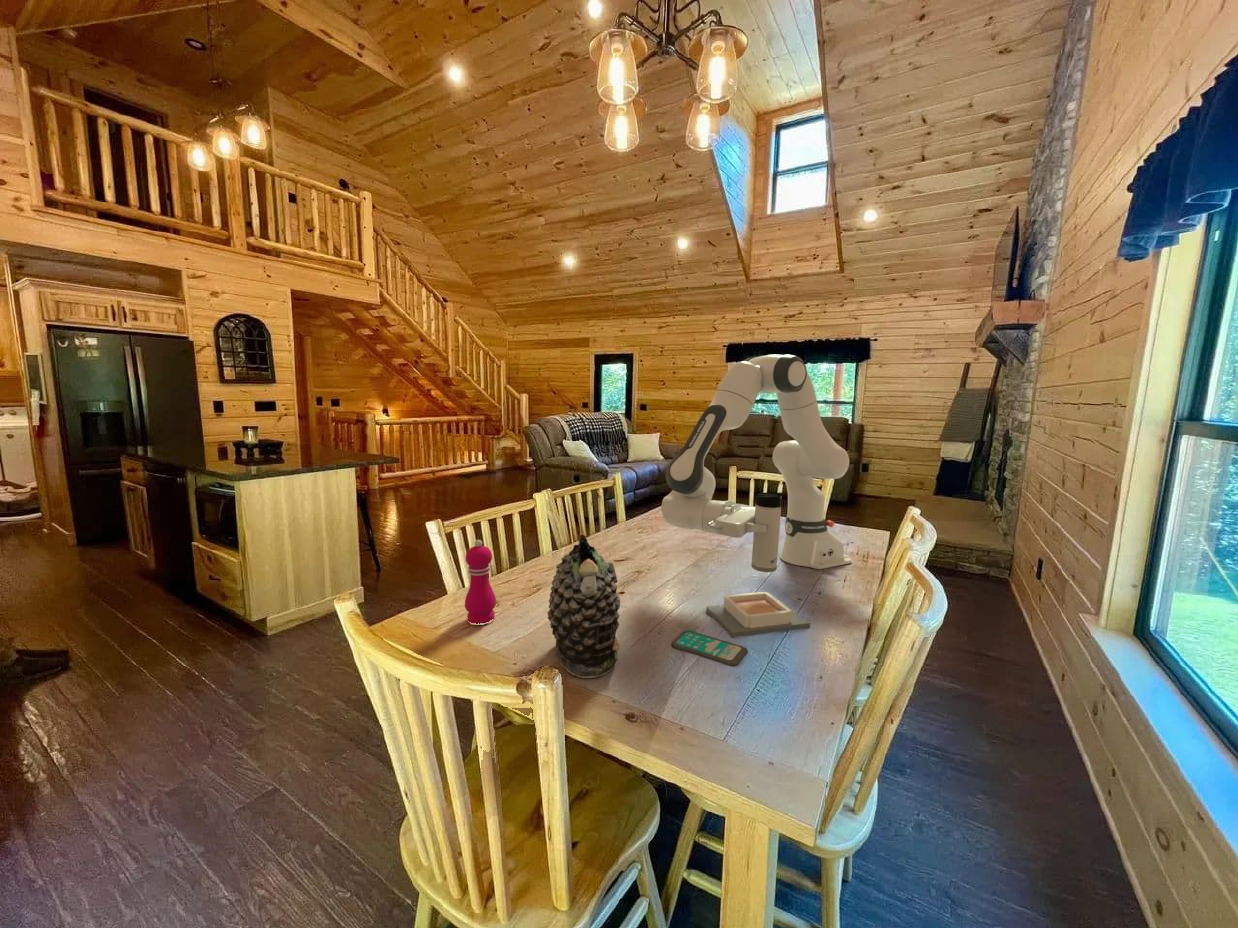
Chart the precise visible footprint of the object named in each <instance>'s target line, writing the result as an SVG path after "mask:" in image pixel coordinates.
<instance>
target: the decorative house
mask: <svg viewBox="0 0 1238 928" xmlns="http://www.w3.org/2000/svg"><path fill="white" fill-rule="evenodd" d="M560 559H561V562H559V563H558V564H556V566H555V567H556V571H555V574H554V576H553V579H552V581H551V585H552V586H551V587H550V593H549V599H548V602H549V605H548V608H549V609H548V611H547V619H548V621H549V622H550V625H549V626H550V628H551V631H552V633H551V634H552V635H553V636H554V639H555V649H556V653H557V656H558V660H559V663H560V665H561V666H562V667H563V669H565V670H566V671H567V672H568V673H570V674H571V675H573V676H576V677H578V678H583V679H593V678H598V677H601V676H605V675H606V674H607V673H609V672H610V671H612V670H613V669H614V668H615V666H616V663H617V661H618V651H619V650H621V649H622V644H621V643H620V641H619V640H618V638H617V637H616V636H617V634H616V633H617V631H618V628H619V626H620V623H619V621H618V620H619V618H620V614H619V612H618V610H619V609H620V607H621V600H620V597H619V595H618V593H617V588H618V585H617V584H616V583H618V576H617V573H616V569H615V566H614V563H613V562H612V561H609V562H608V561H606V560H605V558H604V557H603V556H602V555H600V554H599V553H598V550H597V549H595V547H594V546H592V545H590V544H589V542H588V540H587V537H586V536H585V535H584V534H581V535H580V537H579V539H578V544H574V545H573V547H572V549H571V550H570V551H569V552H568V553H566V554H565V555H563V557H561V558H560Z"/></svg>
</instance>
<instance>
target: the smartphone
mask: <svg viewBox="0 0 1238 928" xmlns="http://www.w3.org/2000/svg"><path fill="white" fill-rule="evenodd" d="M671 647H672V648H674V649H677V650H678V651H682V652H685V653H688V654H692V655H695V656H699V657H701V658H704V659H707V660H711V661H713V662H716V663H719V664H722V665H725V666H729V667H738V666H739V665H740V664H741V663H742V661H743V660H744V659H745V657H746V656H747V654H748V653H749V650H748V648H747V647H746V646H743V645H739V644H736V643H733V642H730V641H726V640H723V639H720V638H716V637H713V636H710V635H706V634H703V633H700V632H697V631H694V630H687V629H686V630H684V631H683V632H681V633H680V634H679V635H678V636H677V637H676V638H675V639H674V640H673V641H671Z"/></svg>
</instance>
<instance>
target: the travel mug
mask: <svg viewBox="0 0 1238 928" xmlns="http://www.w3.org/2000/svg"><path fill="white" fill-rule="evenodd" d="M782 497H784V493H783V492H780V491H779V492H776V491H775V492H773V491H772V492H771V491H770V492H769V491H768V492H766V491H765V492H759V493H758V494H757V495H756V497H755V506H754V507H755V519H754V524H765V525H768V531H767V532H766V533H762V532H753V534H752V535H753V536H752V537H753V538H752V549H751V550H752V552H751V553H752V554H751V568H752V569H753V570H755V571H757V572H762V573H773V572H775V571H776V570H777V569H778V568H777V567H778V566H777V565H778V554H779V543H780V542H779V540H780V529H781V528H780V527H781V513H782Z"/></svg>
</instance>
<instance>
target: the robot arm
mask: <svg viewBox="0 0 1238 928" xmlns="http://www.w3.org/2000/svg"><path fill="white" fill-rule="evenodd" d="M759 393H760V394H775V393H776V396H777V404H778V409H779V412H780V417H781V418H780V419H781V422H782V426H783V429H784V431H785V432H786V433H787V435H789V437H791V438H793V440H784V441H781V442H779V443H777V445H776V446H775V448H774V449H773V451H772V452H773V453H772V462H773V464H774V466H775V468H777V470H779V472H780V473H781V475H782V478H783V480H784V482H785V486H786V490H787V514H786V516H785V524H784V529H785V531H784V532H785V534H784V535H785V537H784V541H783V545H782V549H781V551H780V555H779V559H781V560H782V561H784V562H786V563H789V564H791V565H795V566H799V567H800V566H802V567H808V568H811V569H812V568H813V569H816V570H823V569H829V568H834V567H837V566H842V565H847V564H852V559H851V557H850V556H848V555H847V554H845V548H844V543H843V542H842V541H841V539H839V538H838V537H837V536H835V534H833V533H832V532H830V530H828V529H829V528H834V526H835V522H834V521H833V520H831V519H828V520H827V519H825V517H824V515H825V501H826V498H825V494H824V493H823V492H822V490H821V489H820V488H818V487H817V485H816V483H815V481H814V478H816V479H821V480H836V479H841V478H843V476H844V475H845V474H846V473H847V471H848V470H849V467H850V457H849V454H848V452H847V451H846V449H844V447H841V446H840V445H839V444H838V443H836V441H835V440H834V439H833V437H831V436H830V434H829V432H828V431H827V430H826V427H825V425H824V423H823V421H822V418H821V413H820V410H819V405H818V400H817V395H816V391H815V387H814V384H813V382H812V379H811V377H810V374H809V373H808V371H807V366H806V364H805V363H804V361H803V359H802V358H801V357H800V356H797V355H793V354H767V355H761V356H751V357H749V358H746V359H744V360H742V361H737V362H734V363H733V364H732V365H731V367H730V368H729V369H728V371H727V372H726V374H725V375H724V377H723V378H722V380H721V381H720V384H719V385H718V387H717V389H716V392H715V394H714V396H713V398H712V400H711V402H710V403H709V405H708V406H707V407H706V408H705V410H704V411H703V413H702V414H701V416H700V417H699V418H698V421H697V422H696V424H695V426H694V427H693V429H692V431H691V433H690V435H689V436H688V439H687V440H686V442H685V443H684V446H682V449H681V450H680V451H679V452H678V453H677V454H676V455H675V456H674V457H673V458H672V459H671V460H670V462H669V463H668V465H667V467H666V469H665V482H666V483H667V485H668V487H669V488H670V489H671V491H670V492H669V494H667V495H666V496H664V497H663V499H662V502H661V515H662V518H663V519H664V521H665V522H666V523H667V524H669V525H672V526H674V527H678V528H681V529H687V530H699V531H701V532H703V533H709V534H715V535H720V536H721V535H722V536H726V537H731V538H742V537H743V536H745V535H746V534H747V533H754V532H762V533H766V532H767V531H768V525H765V524H754V519H755V507H756V506H754V505H748V504H742V503H736V502H735V501H734V500H715V499H712V498H713V496H714V493H715V491H716V488H717V487H716V485H717V481H716V478H715V476H714V474H713V473H712V472H711V471H710V470H709V469H708V468H707V467H705V466H704V465H705V459H706V457H707V454H708V453H709V451H710V449H711V448H712V446H713V444H714V442H715V440H716V438H717V437H718V435H719V434H720V433H721V432H723V431H729V430H734V429H738V428H741V426H743V424H744V423H745V422H746V421H747V419H748V418H749V415H750V414H751V411H752V409H753V407H754V405H755V403H756V400H757V397H758V395H759ZM828 527H829V528H828Z"/></svg>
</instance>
